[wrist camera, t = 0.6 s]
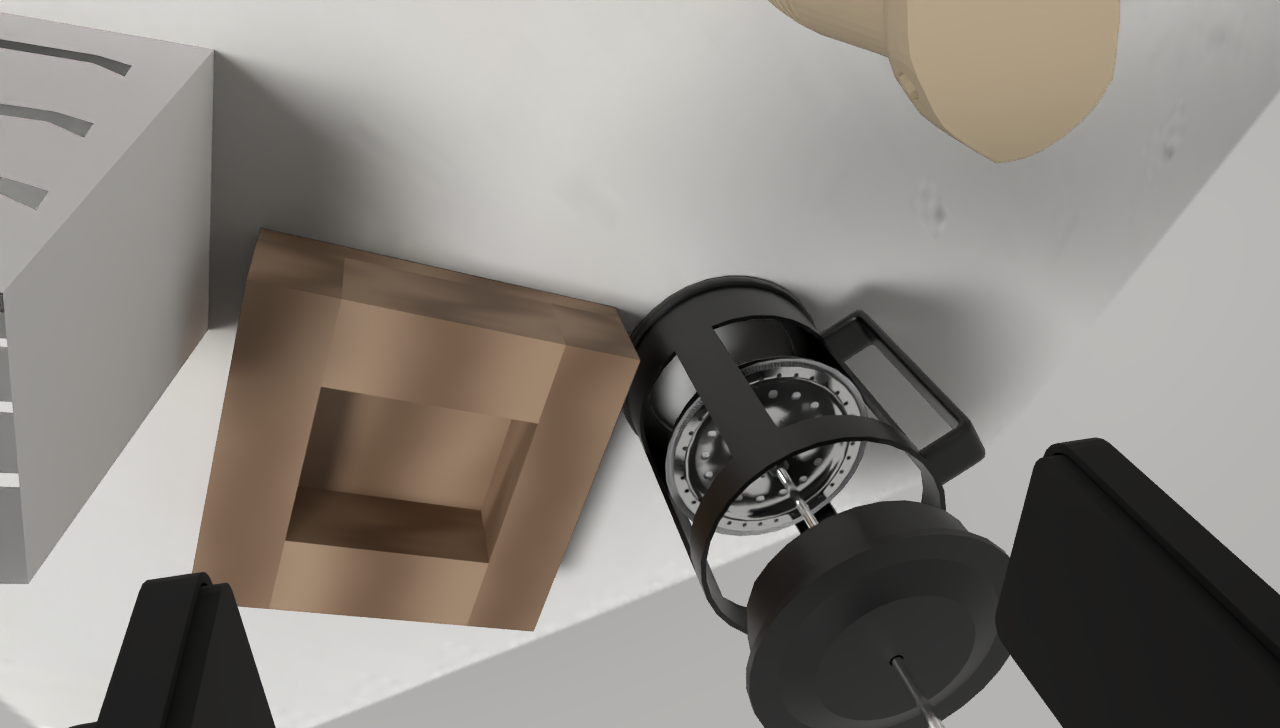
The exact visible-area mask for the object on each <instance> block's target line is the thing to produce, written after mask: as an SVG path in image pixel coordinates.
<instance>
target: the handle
mask: <svg viewBox="0 0 1280 728" xmlns="http://www.w3.org/2000/svg"><path fill="white" fill-rule="evenodd" d="M769 2H771V3H772V4H773V5H774V6H775V7H776V8H778V9H779V10H780V11H782V12H783V13H784V14H786V15H787V16H789V17H790V18H791V19H793V20H794V21H796V22H798V23H799V24H801V25H803V26H805V27H807V28H809V29H811V30H813V31H815V32H817V33H819V34H821V35H824V36H827V37H830V38H833V39H836V40H839V41H842V42H845V43H848V44H851V45H854V46H857V47H860V48H863V49H866V50H869V51H872V52H875V53H878V54H881V55H883V56H886V57H889V61H890V64H891V67H892V70H893V72H894V75H895V78H896V79H897V81H898V82H899V84H900V85H901V87H902V88H903V90H904V91H905V93H906V94H907V96H908V97H909V99H910V100H911V101H912V103H913V104H914V106H915V107H916V108H917V110H918V111H919V113H920V114H921V115H922V116H923V117H925V118H926V119H927V120H929V121H930V122H931V123H932V124H934V125H935V126H936V127H938V128H939V129H941V130H942V131H944V132H945V133H947V134H948V135H950V136H951V137H953V138H955V139H956V140H958V141H960V142H961V143H963V144H964V145H966V146H968V147H969V148H971V149H973V150H974V151H976V152H978V153H980V154H981V155H983V156H985V157H986V158H988V159H990V160H992V161H993V162H995V163H1001V162H1010V161H1015V160H1019V159H1023V158H1026V157H1029V156H1031V155H1033V154H1035V153H1037V152H1040V151H1042V150H1044V149H1045V148H1047V147H1048V146H1050V145H1052V144H1053V143H1055V142H1056V141H1058V140H1059V139H1061V138H1062V137H1063V136H1065V135H1066V134H1067V133H1068V132H1070V131H1071V130H1072V129H1073V128H1075V127H1076V126H1077V125H1078V124H1079V123H1080V122H1081V121H1082V120H1083V119H1084V118H1085V117H1086V116H1087V115H1088V114H1089V113H1090V112H1091V111H1092V110H1093V109H1094V107H1095V106H1096V104H1097V103H1098V102H1099V100H1100V99H1101V97H1102V96H1103V95H1104V93H1105V91H1106V90H1107V88H1108V86H1109V84H1110V83H1111V81H1112V79H1113V72H1114V65H1115V57H1116V50H1117V41H1118V32H1119V23H1120V0H769Z"/></svg>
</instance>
